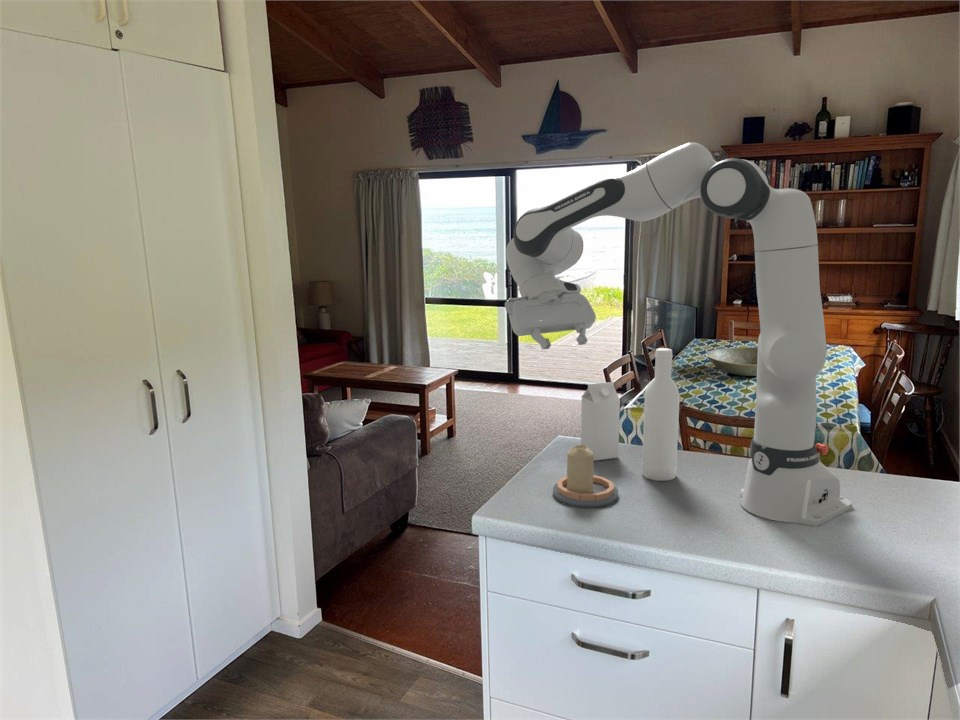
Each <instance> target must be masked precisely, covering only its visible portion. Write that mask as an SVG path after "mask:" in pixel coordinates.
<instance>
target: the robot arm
mask: <svg viewBox="0 0 960 720" xmlns="http://www.w3.org/2000/svg"><path fill="white" fill-rule="evenodd" d="M694 199H701V201H702V203H703V204H704V206H705V207H706V208H707V209H708V210H709V211H710V212H711V213H713V214H714V215H716V216H719V217H722V218H728V219H735V220H741V221H745V222H746V221H748V224H750V226H751V228H752V233H753V241H754V242H753V243H754V244H753V245H754V247H753V248H754V263H755V264H754V265H755V281H756V282H755V283H756V284H755V285H756V297H757V304H758V305H757V306H758V316H759V329H760V332H759V335H758V339H757V357H756V358H757V359H756V360H757V361H756V362H757V363H756V393H755V395H756V396H755V399H756V400H755V414H754V426H753V427H754V429H753V430H754V431H753V433H754V434H753V437H752V439H751V440H750V441H751V442H750V445H749V448H750V449H749V450H750V453H749V456H750V459H749V460H748V462H747V463H748V464H747V469H746V474H745V480H744V486H743V487H742V488H741V489H740V493H739V494H740V496H741V499H740V500H741V501H740V505H741V506H742V508H744V509H745V510H746V511H747V512H749V513H751V514H753V515H756V516H758V517H760V518H764V519H767V520H772V521H776V522H783V523H785V522H786V523H796V524H797V523H798V524H799V523H800V524H805V525H809V526H820V525H822V524H824V523H826V522H828V521H829V520H832V519H833V518H836V517H837V516H839V515H842V514H843V513H845V512H847V511H849V510H850V509H852V508H853V502H851V501H850V499H848V498H847V497H845V496H843V495H841V494H840V493H841V484H840V480H839V479H840V478H839V477H838V476H837V475H836V474H835V473H833V472H832V471H831V470H830V469H828V467H826V466H825V465H824V464H823V463H822V462H821V461H820V459H819V458H820V457H819V454H821V455H823V456H825V455H827V454H828V452H829V450H830V449H829V448H830V447H829V446H828V445H827V444H822V443H820V442H817V443H816V444H815V432H816V422H817V412H818V410H817V409H818V405H817V375H819V373H821V371H822V370H823V368H824V366H825V364H826V360H827V355H828V354H827V353H828V352H827V350H828V349H827V339H826V337H827V336H826V328H825V319H824V309H823V303H822V301H823V300H822V295H821V294H822V293H821V289H820V288H821V287H820V266H819V263H820V262H819V244H818V242H819V241H818V232H817V224H816V218H815V213H814V209H813V205H812V201H811V198H810V197H809V195H808V194H807V193H806V192H805V191H802V190H801V189H796V188H791V187H789V188H774V187H772V186H771V180H770V178H769V176H768V174H767V173H766V171H765V170H764V169H763V168H761V167H759V165H757V164H756V163H755V162H753V161H750V160H747V159H742V158H737V157H736V158H735V157H732V158H725V159H722V160H720V161H716V160H715V158H714V157H713V155H712V154H711V151H710V150H709V149H708V148H706V147H705V146H704V145H703V144H701V143H700V142H699V143H698V142H695V141H694V142H692V141H691V142H687V143H684V144H682V145H679V146H677V147H675V148H672V149H670V150H668V151H666V152H662V153H661V154H659V155H657V156H655V157H653V158H652V159H651V160H649V161H647V162H646V163H644V164H642V165H641V166H638V167H636V168H634V169H632V170H630V171H628V172H626V173H623V174H620V175H616V176H614V177H609V178H605V179H602V180H600V181H597V182H595V183H592V184H590V185H588V186H587V187H584V188H582V189H579V190H578V191H576V192H574V193H571V194H570V195H568V196H566V197H563V198H561V199H559V200H558V201H555V202H553V203H552V204H549V205H546V206H541V207H536V208H535V207H534V208H531V209H529V210H527V211H526V212H524V213H523V214H522V215H521V216H520V217H519V219H517V221H516V223H515V226H514V229H513V238H512V239H511V240H509V242H508V243H507V245H506V248H505V259H506V262H507V266H508V269H509V271H510V274H511V276H512V278H513V281H514V282H515V283H516V284H517V287H518V291H519V294H520V297H510V298H508V300H506V301H505V302H504V308H505V311H506V313H507V314H508V317H509V321H510V322H509V323H510V325H511V326H510V327H511V329H512V331H513V333H514V334H515V335H516V336H518V337H524V336H530V337H531V339H532V340H533V341H535V342H536V343H538V344H539V345H540V348H541V350H550V347H551V346H552V344H551V342H550V338H545V337H544V336H543V335H542V334H551V333H560V332H568V331H575V332H576V333H577V334H578V336H577V337H576V342H577V344H578V346H583V345H584V346H585V345H586V344H587V343H588V337H587V335H586V331H587V330H588V329H590V328H591V327H592V326H593V324H594V323H595V322H596V318H597V315H596V312H595V311H594V309H593V307H592V305H591V303H590V301H589V300H588V299H587V298H586V296H584V294H582V293H581V292H582V288H581V286H580V285H579V284H577V283H574V282H569V281H565V280H563V279H559V278H556V276H557V275H560V274H562V273H563V272H565V271H567V270H568V269H570V268H571V267H573V266H575V265H576V263H578V261H579V260H580V259H581V258H582V255H583V252H584V240H583V237H582V236H581V234H580V233H579V232H578V231H577V230H575V229H574V228H573V227H576V226H578V225H580V224H582V223H584V222H586V221H588V220H590V219H593V218H596V217H604V216H605V217H607V216H609V217H610V216H611V217H618V218H623V219H627V220H631V221H635V222H647V221H651V220H654V219H657V218H660V217H663V216H664V215H665V214H668V213H669V212H671V211H672V210H675V209H676V208H678V207H680V206H682V205H683V204H685V203H687V202H689V201H691V200H694ZM818 453H819V454H818Z"/></svg>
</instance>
